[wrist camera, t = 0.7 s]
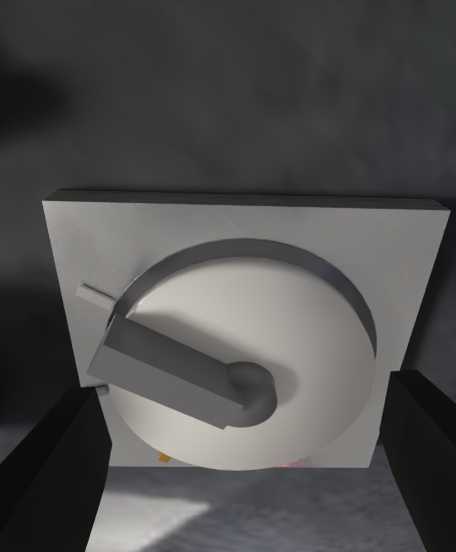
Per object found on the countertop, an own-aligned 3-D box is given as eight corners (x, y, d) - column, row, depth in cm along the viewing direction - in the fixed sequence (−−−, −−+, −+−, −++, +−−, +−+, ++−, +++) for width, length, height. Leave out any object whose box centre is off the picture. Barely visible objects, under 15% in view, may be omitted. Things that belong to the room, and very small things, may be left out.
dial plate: (432, 199, 17) (454, 212, 15) (360, 445, 24) (369, 471, 23) (56, 189, 16) (39, 203, 15) (104, 444, 24) (96, 469, 22)
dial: (420, 334, 18) (457, 385, 15) (271, 475, 23) (278, 533, 20) (180, 196, 14) (170, 228, 12) (66, 395, 19) (40, 452, 17)
